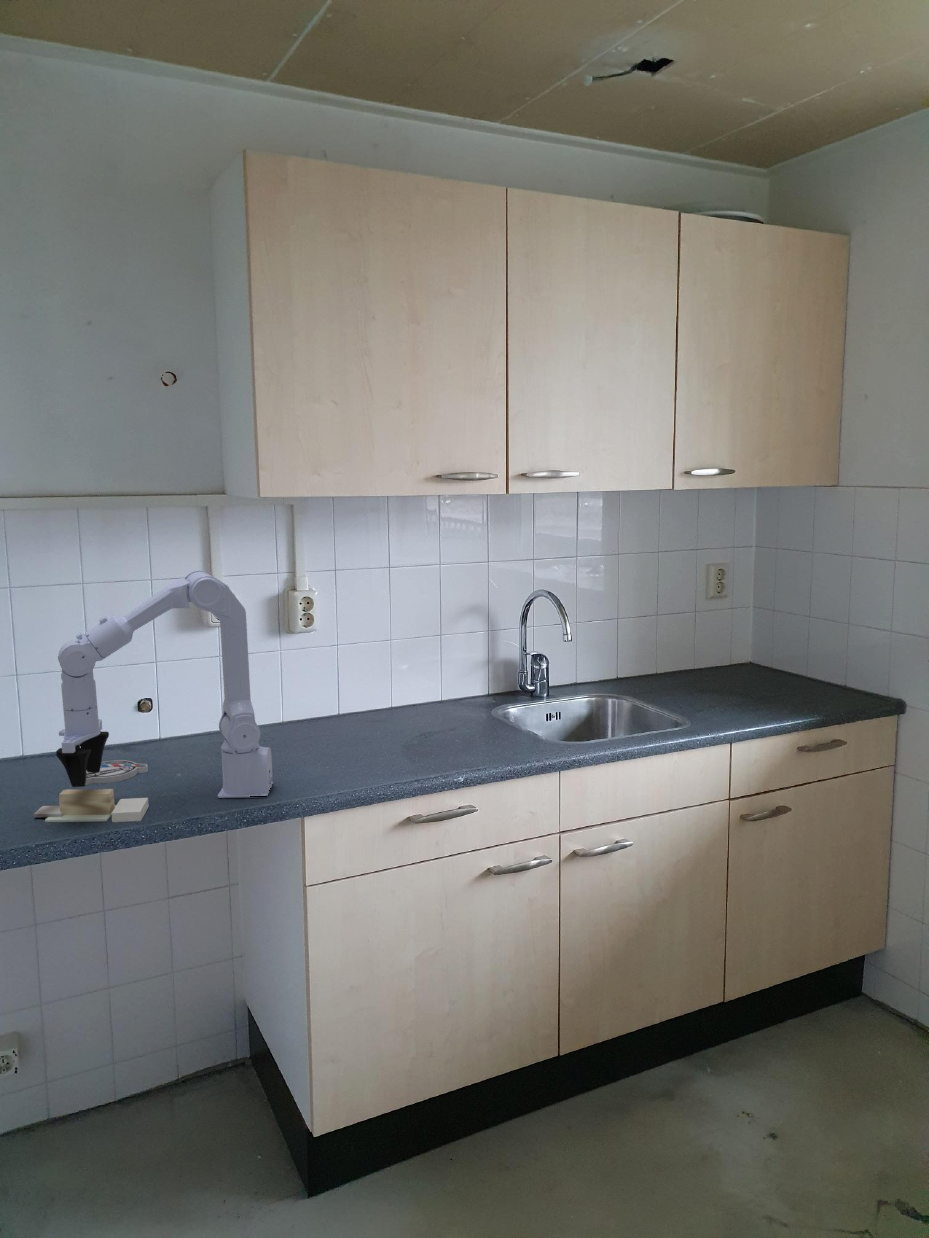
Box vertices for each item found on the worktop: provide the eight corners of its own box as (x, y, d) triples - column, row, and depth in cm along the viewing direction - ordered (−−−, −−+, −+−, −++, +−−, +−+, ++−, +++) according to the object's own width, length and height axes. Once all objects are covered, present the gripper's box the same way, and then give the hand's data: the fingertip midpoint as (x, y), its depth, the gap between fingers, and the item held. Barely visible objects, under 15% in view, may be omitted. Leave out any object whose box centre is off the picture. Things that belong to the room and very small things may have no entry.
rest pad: (119, 806, 175) (119, 804, 175) (106, 821, 168) (106, 819, 168) (60, 807, 175) (59, 805, 175) (44, 822, 168) (44, 820, 168)
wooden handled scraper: (116, 807, 174) (114, 787, 173) (108, 815, 170) (107, 795, 169) (42, 808, 173) (41, 788, 173) (33, 817, 169) (31, 796, 169)
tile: (148, 797, 175) (140, 811, 168) (148, 808, 176) (140, 822, 169) (120, 799, 175) (111, 813, 168) (121, 809, 175) (112, 824, 168)
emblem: (151, 770, 192) (72, 782, 185) (151, 778, 192) (73, 790, 185) (140, 754, 203) (66, 764, 196) (141, 761, 203) (67, 772, 196)
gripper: (73, 697, 175) (78, 766, 178) (41, 718, 161) (48, 793, 163) (111, 696, 175) (116, 765, 178) (82, 717, 161) (88, 792, 164)
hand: (86, 778), depth 171 cm, fingers open, 7 cm apart
